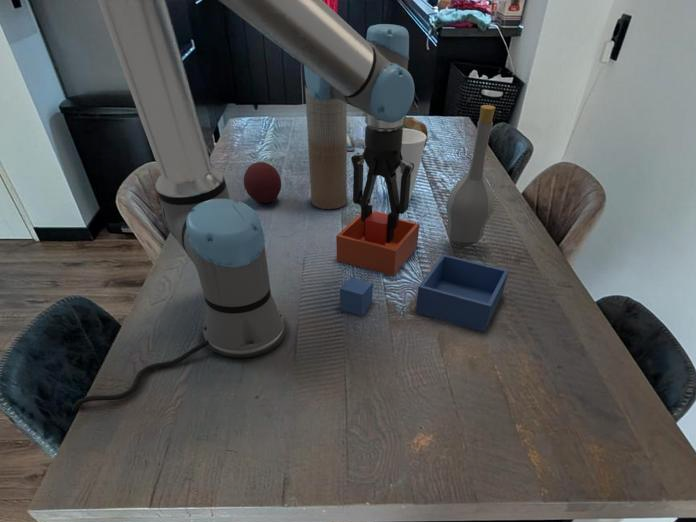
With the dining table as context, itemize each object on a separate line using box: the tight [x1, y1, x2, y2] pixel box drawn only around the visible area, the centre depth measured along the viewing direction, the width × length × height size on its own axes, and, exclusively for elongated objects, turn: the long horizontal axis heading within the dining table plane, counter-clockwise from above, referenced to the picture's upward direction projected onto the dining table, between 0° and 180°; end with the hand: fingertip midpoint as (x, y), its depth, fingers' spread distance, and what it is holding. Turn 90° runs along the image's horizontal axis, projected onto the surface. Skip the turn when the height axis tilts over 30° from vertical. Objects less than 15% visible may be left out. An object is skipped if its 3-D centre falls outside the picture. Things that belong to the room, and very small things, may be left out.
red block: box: [365, 210, 389, 245], centre depth 109 cm, size 5×5×5 cm
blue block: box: [339, 276, 374, 317], centre depth 97 cm, size 5×5×5 cm
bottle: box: [445, 104, 496, 248], centre depth 106 cm, size 11×11×30 cm
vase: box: [304, 83, 348, 210], centre depth 123 cm, size 10×10×28 cm
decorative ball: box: [243, 161, 282, 204], centre depth 129 cm, size 10×10×10 cm
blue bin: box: [414, 253, 510, 333], centre depth 98 cm, size 15×15×6 cm
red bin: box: [335, 213, 420, 277], centre depth 111 cm, size 15×15×6 cm
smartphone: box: [347, 133, 354, 152], centre depth 165 cm, size 7×1×15 cm
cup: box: [385, 128, 428, 202], centre depth 131 cm, size 12×12×16 cm
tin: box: [401, 116, 429, 149], centre depth 162 cm, size 15×3×8 cm, turn 25°
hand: (378, 237), depth 111 cm, fingers closed on red block, 5 cm apart
